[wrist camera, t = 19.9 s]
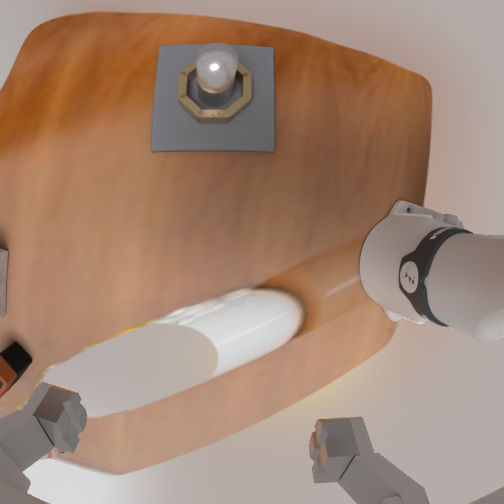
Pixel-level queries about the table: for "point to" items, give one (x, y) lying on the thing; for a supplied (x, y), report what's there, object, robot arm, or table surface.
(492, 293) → the robot arm
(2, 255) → the light bulb box
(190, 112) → the bronze ring
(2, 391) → the battery
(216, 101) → the piston
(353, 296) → the table surface
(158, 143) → the base plate
